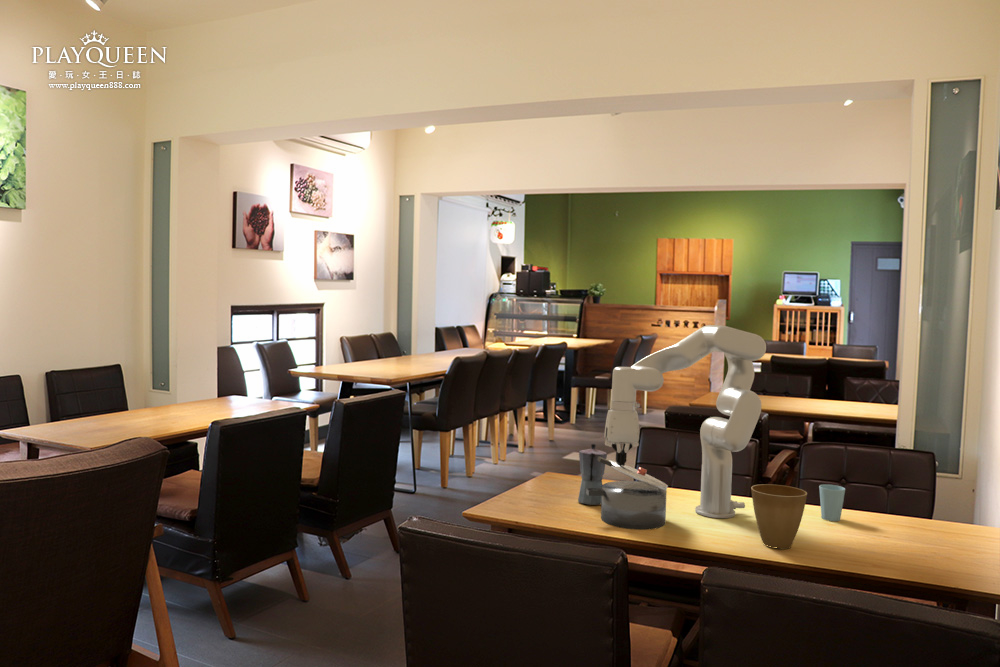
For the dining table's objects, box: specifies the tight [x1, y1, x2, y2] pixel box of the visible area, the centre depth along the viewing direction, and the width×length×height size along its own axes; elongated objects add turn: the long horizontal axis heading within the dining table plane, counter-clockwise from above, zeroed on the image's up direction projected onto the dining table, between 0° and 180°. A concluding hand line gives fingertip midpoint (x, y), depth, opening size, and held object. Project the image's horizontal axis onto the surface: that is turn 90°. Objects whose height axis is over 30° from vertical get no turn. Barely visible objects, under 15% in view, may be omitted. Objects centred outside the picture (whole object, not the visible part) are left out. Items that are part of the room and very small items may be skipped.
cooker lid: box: [597, 457, 669, 491], centre depth 228 cm, size 23×20×3 cm
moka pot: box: [577, 443, 608, 506], centre depth 247 cm, size 10×15×20 cm, turn 174°
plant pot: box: [750, 483, 808, 549], centre depth 207 cm, size 15×15×16 cm
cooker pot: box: [586, 480, 668, 531], centre depth 228 cm, size 25×20×10 cm
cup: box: [818, 484, 846, 522], centre depth 236 cm, size 8×8×10 cm
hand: (620, 464), depth 227 cm, fingers closed
